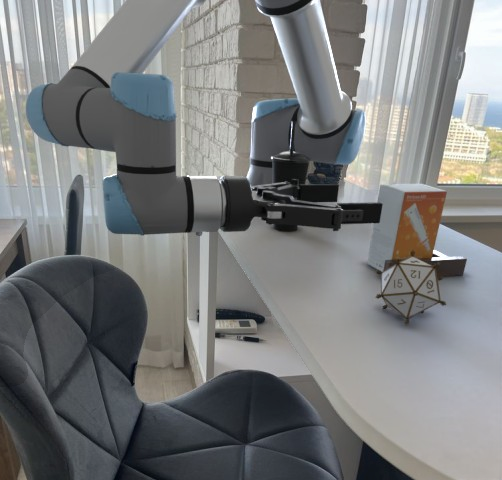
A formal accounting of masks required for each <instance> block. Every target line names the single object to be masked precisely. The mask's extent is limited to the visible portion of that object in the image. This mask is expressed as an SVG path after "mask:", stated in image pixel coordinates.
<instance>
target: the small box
mask: <svg viewBox="0 0 502 480" xmlns="http://www.w3.org/2000/svg"><path fill="white" fill-rule="evenodd" d="M378 189H379V190H378V195H377V202H380V203H383V205H382V211H381V217H380V223H373V225H372V231H371V232H372V233H371V238H370V244H369V250H368V256H367V261H366V263H367V265H369V266H370V267H372V268H374V269H375V270H381V272H383V270H384V264H385V260H395V258H396V259H406V258H408V257H410V256H411V251H412V250H414V252H415V255H414V257H416V258H432V255H433V251H434V250H435V246H436V242H437V238H438V233H439V230H440V225H441V220H442V217H443V211H444V207H445V202H446V199H447V193H448V191H447V190H445V189H441V188H438V187H434V186H431V185H427V184H425V183H395V184H393V183H392V184H379V188H378Z"/></svg>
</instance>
